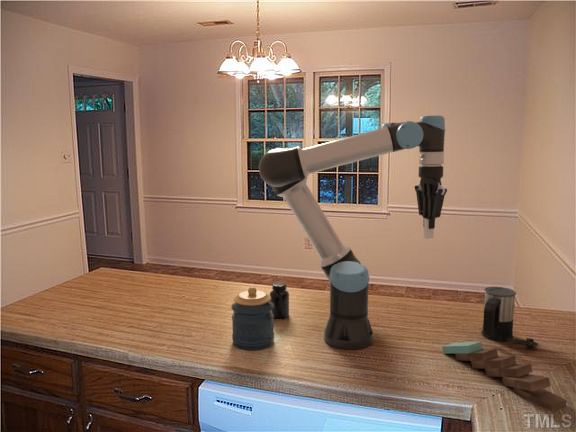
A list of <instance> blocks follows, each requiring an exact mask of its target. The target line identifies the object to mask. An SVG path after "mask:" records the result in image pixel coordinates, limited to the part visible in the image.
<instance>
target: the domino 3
mask: <svg viewBox="0 0 576 432" xmlns="http://www.w3.org/2000/svg"><path fill="white" fill-rule="evenodd" d="M470 362H471V363H470V364H471V367H472V369H485V368H506V367H509V366H512V365H514V364H518V363H517V361H516V357H515V355H498V356H497V357H494V358H491V359H489V360H486V361H470Z"/></svg>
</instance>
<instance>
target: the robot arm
mask: <svg viewBox="0 0 576 432" xmlns="http://www.w3.org/2000/svg"><path fill="white" fill-rule="evenodd" d="M445 120H446V119H445V117H444V116H443V115H422V116H420V118H419V121H416V122H414V121H413V120H412V121H411V120H407V121H403V122H386V123H383V124H382V126H381V128H378V129H374V130H369V131H366V132H362V133H359V134H355V135H351V136H348V137H343V138H340V139H335V140H332V141H328V142H325V143H320V144H316V145H313V146H310V147H309V146H308V147H305V148H302V147H300V146H295V147H291V148H287V147H281V146H280V147H275V148H273V149H271V150H269V151H267V152H266V153H265V154H263V155H262V156H261V158H260V161H259V163H258V173H259V176H260V178H261V179H262V181H263V182H264V183H265V184H267V185H268V186H270V187H271V188H272V190H273V191H274V193H275V195H276V197H281V198H283V199H284V201H285V202H286V204H287V206H288V207H289V208H290V210H291V211H292V213H293V215H294V217H295V218H296V220H297V222H298V223H299V225H300V227H301V228H302V230H303V231H304V233H305V235H306V237H307V238H308V239H309V241H310V243H311V245H312V246H313V247H314V249H315V252H316V253H317V255H318V256H319V258H320V263H319V266H320V268H321V270H322V272H323V273H324V275H325V276H326V278H327V279H328V281H329V282H328V283H329V316H328V320H327V321H326V322H327V323H326V326H325V328H324V331H323V334H324V335H323V339H324V341H325V343H327V344H328V345H329V346H332V347H333V348H337V349H341V350H361V349H364V348H365V349H366V348H367V347H369V346H371V345H372V344H373V342H374V332H373V329H372V326H371V321H370V319H369V314H368V313H369V282H370V274H369V269H368V268H367V267H366V265H364V264H363V263H361V261H360V260H359V259H358V258H357V257H356V255H355V254H354V252H353V251H352V248H351V247H350V246H347V245H344V244H343V243H342V241H341V239H340V237H339V236H338V234H337V233H336V231H335V230H334V227H332V224H331V223H330V221H329V220H328V218H327V216H326V214H325V213H324V211H323V209H322V208H321V207H320V204H319V203H318V201H317V200H316V198H315V197H314V195H313V193H312V191H311V189H310V188H309V186H308V185H307V180H308V177H309V175H310V174H314V173H318V172H322V171H325V170H329V169H333V168H337V167H340V166H341V167H342V166H345V165H349V164H353V163H356V162H360V161H364V160H367V159H371V158H375V157H379V156H384V155H387V154H390V153H395V152H399V151H400V152H401V151H403V150H410V149H415V148H416V147H418V148H419V149H418V151H419V152H418V153H419V154H418V164H419V166H418V177H419V178H420V180H419V184H418V185H415V186H414V191H415V194H416V201H417V209H418V215H419V216H421V217H422V218H423V224H422V225H423V238H424V239H425V240H428V239H429V240H430V239H434V237H435V235H434V230H435V227H436V219H439V218H441V215H442V210H443V205H444V202H445V201H444V199H445V196H446V194H447V192H448V189H447V188H444V187H443V186H442V181H441V180H442V179H443V177H444V167H443V164H445V163H444V160H445V149H444V148H445V136H446V135H445V134H446V121H445Z"/></svg>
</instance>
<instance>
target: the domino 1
mask: <svg viewBox="0 0 576 432" xmlns="http://www.w3.org/2000/svg"><path fill="white" fill-rule="evenodd" d="M441 349H442V353H443V354H455V353H472V352H475V351H478V350H482V349H484V348H483V344H482V341H468V342H467V341H465V342H464V341H463V342H451V343H449V344H446V345H442V346H441Z"/></svg>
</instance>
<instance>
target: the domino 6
mask: <svg viewBox="0 0 576 432" xmlns="http://www.w3.org/2000/svg"><path fill="white" fill-rule="evenodd" d="M513 392H514V393H516V394H517V395H519V396H520V397H523V398H525V399H527V400H529V401H531V402H532V403H535V404H537V405H539V406H540V407H542V408H544V409H546V410H548V411H550V412H552V413H553V412H555V411H557V410H559V409H561V408H563V407H566V406H567V399H565V398H563V397H561V396H559V395H558V394H555V393H552V392H551V391H549V390H546V388H543V389H540V390H536V391H528V390H524V389H519V388H514V387H513Z"/></svg>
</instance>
